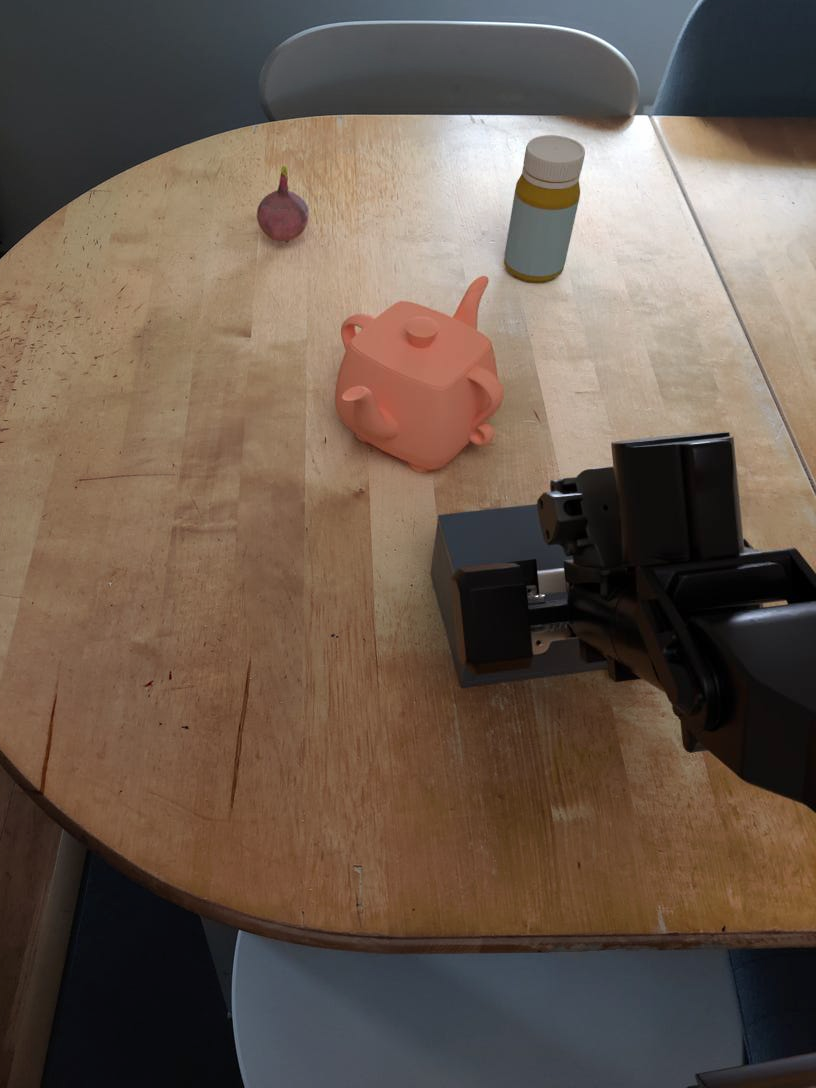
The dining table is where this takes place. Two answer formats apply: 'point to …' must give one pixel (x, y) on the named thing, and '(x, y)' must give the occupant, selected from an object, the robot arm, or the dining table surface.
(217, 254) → the dining table surface
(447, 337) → the teapot
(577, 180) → the bottle
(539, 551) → the lid
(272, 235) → the vegetable
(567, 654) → the box
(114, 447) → the dining table surface
